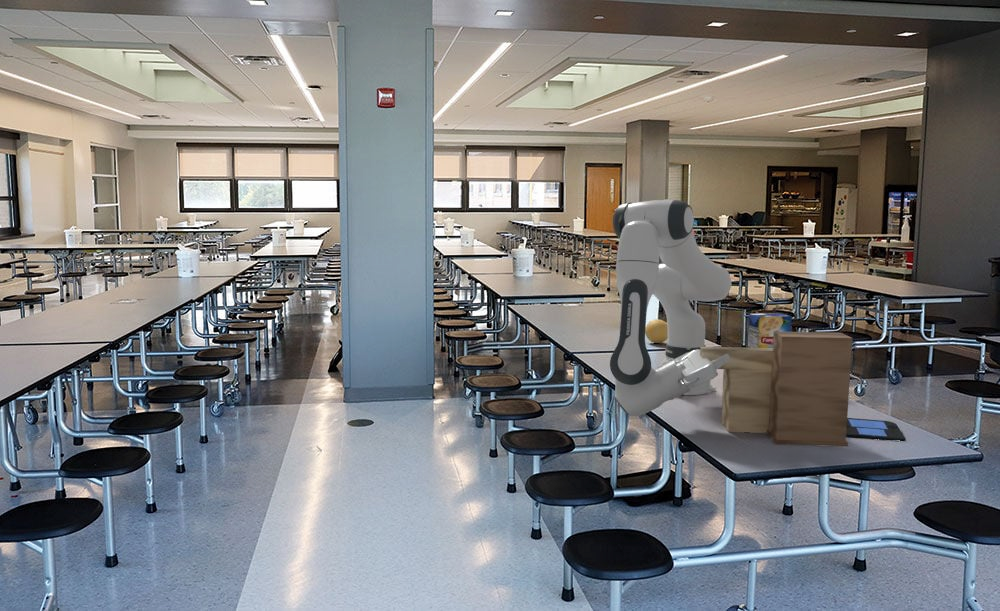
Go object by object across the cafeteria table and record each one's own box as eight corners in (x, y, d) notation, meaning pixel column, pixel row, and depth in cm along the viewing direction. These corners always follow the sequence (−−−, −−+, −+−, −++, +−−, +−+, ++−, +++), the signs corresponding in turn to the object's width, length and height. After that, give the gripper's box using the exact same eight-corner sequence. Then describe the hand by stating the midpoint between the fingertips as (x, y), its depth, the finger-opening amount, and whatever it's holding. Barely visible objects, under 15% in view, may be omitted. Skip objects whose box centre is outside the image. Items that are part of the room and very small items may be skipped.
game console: (842, 439, 192) (842, 430, 191) (834, 424, 204) (835, 416, 204) (906, 444, 188) (907, 435, 188) (894, 429, 200) (895, 420, 200)
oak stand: (721, 422, 204) (724, 358, 202) (807, 424, 202) (811, 360, 200) (728, 432, 195) (731, 365, 193) (818, 434, 193) (822, 367, 191)
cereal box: (745, 381, 251) (748, 313, 249) (776, 379, 253) (780, 313, 251) (756, 385, 245) (759, 316, 242) (788, 384, 247) (791, 316, 244)
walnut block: (766, 434, 194) (771, 331, 190) (835, 436, 192) (842, 332, 189) (775, 444, 185) (780, 337, 182) (847, 446, 184) (854, 338, 181)
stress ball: (664, 348, 312) (679, 331, 315) (650, 330, 310) (664, 313, 313) (650, 348, 321) (664, 331, 324) (636, 331, 319) (650, 314, 322)
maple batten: (699, 365, 200) (700, 346, 199) (779, 367, 198) (780, 348, 198) (702, 368, 196) (702, 349, 196) (783, 370, 195) (784, 350, 194)
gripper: (676, 376, 189) (727, 349, 187) (665, 359, 209) (711, 335, 207) (688, 398, 189) (740, 372, 187) (676, 379, 209) (723, 355, 207)
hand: (725, 352), depth 197 cm, fingers open, 8 cm apart
